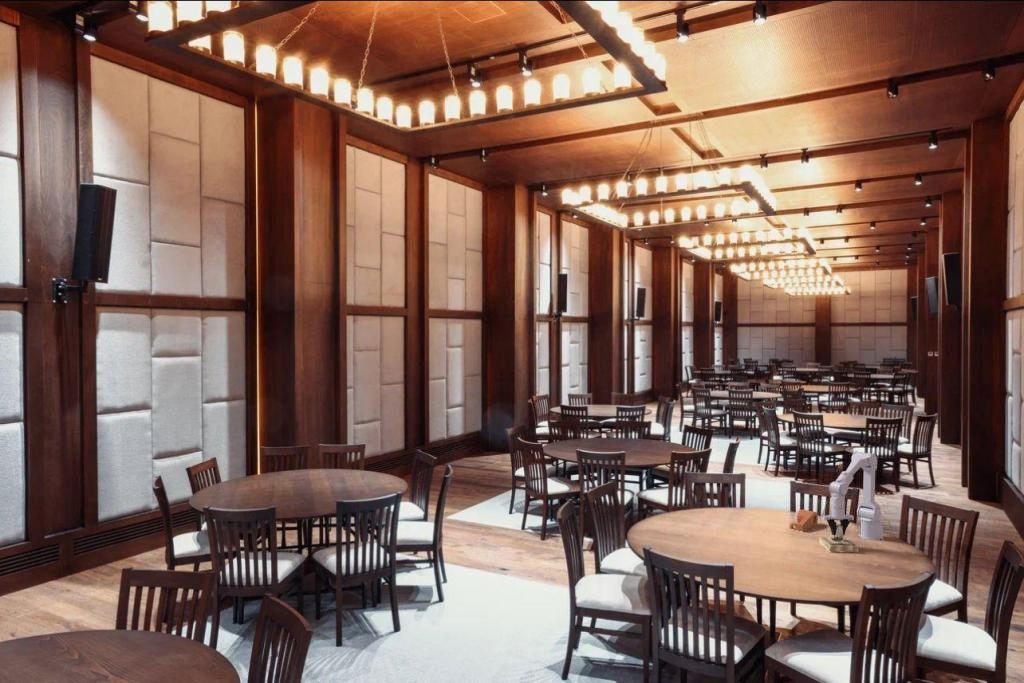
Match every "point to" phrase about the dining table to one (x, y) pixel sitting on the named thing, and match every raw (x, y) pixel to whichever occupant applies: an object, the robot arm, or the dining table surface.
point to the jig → (838, 545)
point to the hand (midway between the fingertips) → (838, 534)
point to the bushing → (839, 532)
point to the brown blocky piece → (805, 520)
